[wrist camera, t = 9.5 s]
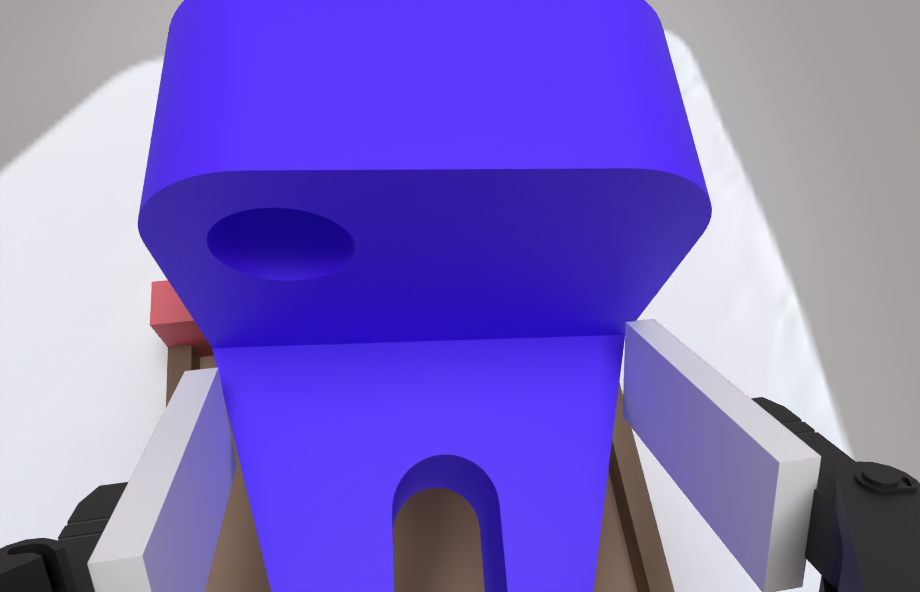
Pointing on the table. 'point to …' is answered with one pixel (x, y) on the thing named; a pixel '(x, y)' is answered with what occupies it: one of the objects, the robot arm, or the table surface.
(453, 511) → the walnut stop track
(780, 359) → the table surface
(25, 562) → the robot arm
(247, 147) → the bracket
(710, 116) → the table surface
